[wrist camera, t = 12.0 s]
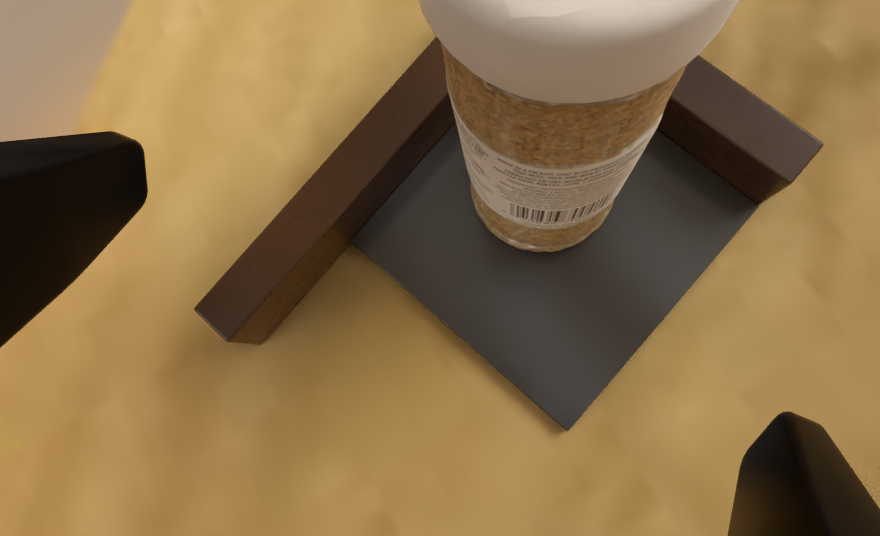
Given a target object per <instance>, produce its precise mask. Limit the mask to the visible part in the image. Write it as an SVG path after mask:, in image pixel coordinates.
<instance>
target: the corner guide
mask: <svg viewBox="0 0 880 536" xmlns="http://www.w3.org/2000/svg"><path fill="white" fill-rule="evenodd" d="M822 147H823V143H822V142H821V141H820V140H818V139H817V138H815V137H814V136H812V135H811V134H810V133H808V132H807V131H805V130H804V129H803V128H801V127H800V126H798V125H797V124H795V123H794V122H793V121H791V120H790V119H788V118H787V117H785V116H784V115H783V114H781V113H780V112H778V111H777V110H776V109H774V108H773V107H771V106H770V105H768V104H767V103H766V102H764V101H763V100H761V99H760V98H758V97H757V96H756V95H754V94H753V93H751V92H750V91H749V90H747V89H746V88H744V87H743V86H741V85H740V84H739V83H737V82H736V81H734V80H733V79H731V78H730V77H729V76H727V75H726V74H724V73H723V72H722V71H720V70H719V69H717V68H716V67H714V66H713V65H712V64H710V63H709V62H707V61H706V60H704V59H703V58H702V57H700V56H699V55H697V56H696V57H695V58H694V59H693V60H692V61H691V62H689V63H688V64H687V66H686V67H685V70H684V72H683V74H682V76H681V78H680V80H679V81H678V83H677V85H676V86H675V88H674V90H673V92H672V94H671V95H670V97H669V99H668V101H667V104H666V107H665V109H664V112H663V115H662V118H661V121H660V123H659V125H658V127H657V129H656V131H655V132H654V134H653V136H652V137H651V139H650V141H649V142H648V144H647V146H646V148H645V149H644V151H643V153H642V155H641V157H640V158H639V160H638V161H637V163H636V165H635V166H634V168H633V170H632V171H631V173H630V175H629V176H628V178H627V180H626V181H625V183H624V185H623V186H622V188H621V190H620V191H619V193H618V195H617V196H616V197H615V198H614V202H613V205H612V207H611V210H610V211H609V213H608V215H607V217H606V218H605V220H604V221H603V223H602V224H601V225H600V227H599V228H598V229H597V230H595V231H593V232H592V233H591V234H590V235H589V236H588V237H587V238H585V239H584V240H583V241H582V242H580V243H578V244H576V245H574V246H571V247H568V248H565V249H563V250H559V251H554V252H547V251H543V252H533V251H530V250H522V249H518V248H516V247H514V246H512V245H509V244H508V243H506V242H504V241H503V240H501V239H499V238H498V237H497V236H496V235H494V234H493V233H492V232H491V231H490V230H489V229H488V228H487V226H486V225H485V224H484V222H483V220H482V219H481V218H480V217H479V215H478V214H477V211H476V209H475V206H474V202H473V199H472V195H471V179H470V176H469V174H468V170H467V167H466V163H465V158H464V154H463V150H462V145H461V141H460V137H459V133H458V128H457V124H456V120H455V116H454V112H453V108H452V103H451V99H450V95H449V91H448V87H447V80H446V67H445V62H444V53H443V50H442V46H441V41H440V40H439V39H438V38H437V37H436V38H435V39H434V40H433V41H432V42H431V43H430V44H429V46H428V47H427V48H426V49H425V50H424V51H423V52H422V53H421V55H420V56H419V57H418V58H417V59H416V60H415V61H414V62H413V64H412V65H411V66H410V67H409V68H408V69H407V70H406V71H405V73H404V74H403V75H402V76H401V77H400V78H399V79H398V80H397V81H396V83H395V84H394V85H393V86H392V87H391V88H390V89H389V90H388V92H387V93H386V94H385V95H384V96H383V97H382V98H381V99H380V101H379V102H378V103H377V104H376V105H375V106H374V107H373V108H372V110H371V111H370V112H369V113H368V114H367V115H366V116H365V117H364V118H363V120H362V121H361V122H360V123H359V124H358V125H357V126H356V127H355V129H354V130H353V131H352V132H351V133H350V134H349V135H348V136H347V138H346V139H345V140H344V141H343V142H342V143H341V144H340V145H339V146H338V148H337V149H336V150H335V151H334V152H333V153H332V154H331V155H330V157H329V158H328V159H327V160H326V161H325V162H324V163H323V164H322V166H321V167H320V168H319V169H318V170H317V171H316V172H315V173H314V175H313V176H312V177H311V178H310V179H309V180H308V181H307V182H306V183H305V185H304V186H303V187H302V188H301V189H300V190H299V191H298V192H297V194H296V195H295V196H294V197H293V198H292V199H291V200H290V201H289V203H288V204H287V205H286V206H285V207H284V208H283V209H282V210H281V212H280V213H279V214H278V215H277V216H276V217H275V218H274V219H273V220H272V222H271V223H270V224H269V225H268V226H267V227H266V228H265V229H264V231H263V232H262V233H261V234H260V235H259V236H258V237H257V238H256V240H255V241H254V242H253V243H252V244H251V245H250V246H249V247H248V249H247V250H246V251H245V252H244V253H243V254H242V255H241V256H240V257H239V259H238V260H237V261H236V262H235V263H234V264H233V265H232V266H231V268H230V269H229V270H228V271H227V272H226V273H225V274H224V275H223V277H222V278H221V279H220V280H219V281H218V282H217V283H216V284H215V286H214V287H213V288H212V289H211V290H210V291H209V292H208V293H207V294H206V296H205V297H204V298H203V299H202V300H201V301H200V302H199V303H198V305H197V306H196V307H195V308H194V310H195V312H196V313H198V314H199V315H200V316H201V317H202V318H203V319H204V320H205V321H206V322H207V323H208V324H209V325H210V326H211V327H212V328H213V329H214V330H215V331H216V332H217V333H218V334H219V335H220V336H221V337H222V338H223V339H224V340H225V341H227V342H233V343H244V344H254V345H261V344H262V343H263V342H264V341H265V340H266V338H267V337H268V336H269V335H270V334H271V333H272V332H273V331H274V329H275V328H276V327H277V326H278V325H279V324H280V323H281V321H282V320H283V319H284V318H285V317H286V316H287V315H288V314H289V312H290V311H291V310H292V309H293V308H294V307H295V306H296V305H297V303H298V302H299V301H300V300H301V299H302V298H303V297H304V295H305V294H306V293H307V292H308V291H309V290H310V289H311V288H312V286H313V285H314V284H315V283H316V282H317V281H318V280H319V278H320V277H321V276H322V275H323V274H324V273H325V272H326V271H327V269H328V268H329V267H330V266H331V265H332V264H333V263H334V261H335V260H336V259H337V258H338V257H339V256H340V255H341V254H342V252H343V251H344V250H345V249H346V248H347V247H348V246H349V244H350V243H351V242H352V243H354V244H355V245H356V246H357V247H358V248H359V249H360V250H362V251H363V252H364V253H365V254H366V255H367V256H368V257H369V258H371V259H372V260H373V261H374V262H375V263H376V264H377V265H379V266H380V267H381V268H382V269H383V270H384V271H385V272H387V273H388V274H389V275H390V276H391V277H392V278H393V279H395V280H396V281H397V282H398V283H399V284H400V285H401V286H403V287H404V288H405V289H406V290H407V291H408V292H409V293H410V294H412V295H413V296H414V297H415V298H416V299H417V300H418V301H420V302H421V303H422V304H423V305H424V306H425V307H426V308H428V309H429V310H430V311H431V312H432V313H433V314H434V315H436V316H437V317H438V318H439V319H440V320H441V321H442V322H444V323H445V324H446V325H447V326H448V327H449V328H450V329H451V330H453V331H454V332H455V333H456V334H457V335H458V336H459V337H461V338H462V339H463V340H464V341H465V342H466V343H467V344H469V345H470V346H471V347H472V348H473V349H474V350H475V351H477V352H478V353H479V354H480V355H481V356H482V357H483V358H484V359H486V360H487V361H488V362H489V363H490V364H491V365H492V366H494V367H495V368H496V369H497V370H498V371H499V372H500V373H502V374H503V375H504V376H505V377H506V378H507V379H508V380H510V381H511V382H512V383H513V384H514V385H515V386H516V387H518V388H519V389H520V390H521V391H522V392H523V393H524V394H525V395H527V396H528V397H529V398H530V399H531V400H532V401H533V402H535V403H536V404H537V405H538V406H539V407H540V408H541V409H543V410H544V411H545V412H546V413H547V414H548V415H549V416H551V417H552V418H553V419H554V420H555V421H556V422H557V423H559V424H560V425H561V426H562V427H563V428H564V429H565V430H566V431H569V430H570V428H571V427H572V426H573V425H574V424H575V422H576V421H577V420H578V419H579V418H580V417H581V415H582V414H583V413H584V412H585V411H586V409H587V408H588V407H589V406H590V405H591V404H592V402H593V401H594V400H595V399H596V398H597V396H598V395H599V394H600V393H601V392H602V391H603V389H604V388H605V387H606V386H607V385H608V384H609V382H610V381H611V380H612V379H613V378H614V376H615V375H616V374H617V373H618V372H619V371H620V369H621V368H622V367H623V366H624V365H625V363H626V362H627V361H628V360H629V359H630V358H631V356H632V355H633V354H634V353H635V352H636V351H637V349H638V348H639V347H640V346H641V345H642V343H643V342H644V341H645V340H646V339H647V338H648V336H649V335H650V334H651V333H652V332H653V330H654V329H655V328H656V327H657V326H658V325H659V323H660V322H661V321H662V320H663V319H664V318H665V316H666V315H667V314H668V313H669V312H670V310H671V309H672V308H673V307H674V306H675V305H676V303H677V302H678V301H679V300H680V299H681V297H682V296H683V295H684V294H685V293H686V292H687V290H688V289H689V288H690V287H691V286H692V285H693V283H694V282H695V281H696V280H697V279H698V277H699V276H700V275H701V274H702V273H703V272H704V270H705V269H706V268H707V267H708V266H709V264H710V263H711V262H712V261H713V260H714V259H715V257H716V256H717V255H718V254H719V253H720V252H721V250H722V249H723V248H724V247H725V246H726V244H727V243H728V242H729V241H730V240H731V239H732V237H733V236H734V235H735V234H736V233H737V231H738V230H739V229H740V228H741V227H742V226H743V224H744V223H745V222H746V221H747V220H748V219H749V217H750V216H751V215H752V214H753V213H754V211H755V210H756V209H757V208H758V207H759V205H760V204H761V203H763V202H764V201H766V200H767V199H769V198H770V197H772V196H773V195H775V194H776V193H778V192H779V191H781V190H782V189H784V188H785V187H787V186H788V185H790V184H791V183H792V182H793V181H794V180H795V179H796V177H797V176H798V175H799V174H800V173H801V172H802V170H803V169H804V168H805V167H806V166H807V164H808V163H809V162H810V161H811V160H812V159H813V157H814V156H815V155H816V154H817V153H818V152H819V150H820V149H821V148H822Z"/></svg>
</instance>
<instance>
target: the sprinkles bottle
mask: <svg viewBox="0 0 880 536" xmlns="http://www.w3.org/2000/svg"><path fill="white" fill-rule="evenodd" d="M738 2H739V0H419V3H420V5H421V8H422V11H423V14H424V16H425V18H426V20H427V22H428V23H429V25H430V27H431V28H432V30H433V32H434V33H435V35H436V37H437V38H438V39H439V40H440V41H441V46H442V50H443V53H444V62H445V67H446V80H447V87H448V91H449V95H450V99H451V103H452V108H453V112H454V116H455V120H456V124H457V128H458V133H459V137H460V141H461V145H462V150H463V154H464V158H465V163H466V167H467V170H468V174H469V176H470V179H471V195H472V199H473V202H474V206H475V209H476V211H477V214H478V215H479V217H480V218H481V219H482V220H483V222H484V224H485V225H486V226H487V228H488V229H489V230H490V231H491V232H492V233H493V234H494V235H496V236H497V237H498V238H499V239H501V240H503V241H504V242H506V243H508V244H509V245H512V246H514V247H516V248H518V249H522V250H530V251H533V252H543V251H547V252H554V251H559V250H563V249H565V248H568V247H571V246H574V245H576V244H578V243H580V242H582V241H583V240H584V239H585V238H587V237H588V236H589V235H590V234H591V233H592V232H593V231H595V230H597V229H598V228H599V227H600V225H601V224H602V223H603V221H604V220H605V218H606V217H607V215H608V213H609V211H610V210H611V207H612V205H613V202H614V198H615V197H616V196H617V195H618V193H619V191H620V190H621V188H622V186H623V185H624V183H625V181H626V180H627V178H628V176H629V175H630V173H631V171H632V170H633V168H634V166H635V165H636V163H637V161H638V160H639V158H640V157H641V155H642V153H643V151H644V149H645V148H646V146H647V144H648V142H649V141H650V139H651V137H652V136H653V134H654V132H655V131H656V129H657V127H658V125H659V123H660V121H661V118H662V115H663V112H664V109H665V107H666V104H667V101H668V99H669V97H670V95H671V94H672V92H673V90H674V88H675V86H676V85H677V83H678V81H679V80H680V78H681V76H682V74H683V72H684V70H685V67H686V66H687V64H688V63H689V62H691V61H692V60H693V59H694V58H695V57H696V56H697V55H698V54H700V53H701V52H702V51H703V50H704V48H705V47H706V46H707V45H708V44H709V43H710V42H711V41H712V40H713V39H714V38H715V36H716V35H717V34H718V33H719V32H720V30H721V29H722V28H723V26H724V25H725V23H726V21H727V20H728V18H729V16H730V15H731V13H732V12H733V10H734V8H735V7H736V5H737V3H738Z"/></svg>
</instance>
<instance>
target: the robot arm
mask: <svg viewBox="0 0 880 536" xmlns="http://www.w3.org/2000/svg"><path fill="white" fill-rule="evenodd" d="M147 193H148V188H147V178H146V167H145V157H144V150H143V148H142V146H141V144H140V143H139V142H137V141H136V140H134V139H131V138H129V137H127V136H124V135H122V134H119V133H116V132H111V131H109V132H98V133H88V134H78V135H67V136H57V137H47V138H37V139H28V140H17V141H6V142H0V348H1V347H2V346H3V345H4V344H5V343H6V342H7V341H8V340H10V339H11V338H12V337H13V336H14V335H15V334H16V333H17V332H18V331H20V330H21V329H22V328H23V327H24V326H25V325H26V324H27V323H28V322H30V321H31V320H32V319H33V318H34V317H35V316H36V315H37V314H39V313H40V312H41V311H42V310H43V309H44V308H45V307H46V306H47V305H49V304H50V303H51V302H52V301H53V300H54V299H55V298H56V297H58V296H59V295H60V294H61V293H62V292H63V291H64V290H65V289H66V288H67V287H68V286H69V285H71V284H72V283H73V282H74V281H75V280H76V279H77V278H78V277H79V276H80V274H81V273H82V272H83V271H84V270H85V269H86V268H87V267H88V266H89V265H90V264H91V263H92V262H93V261H94V259H95V258H96V257H97V256H98V255H99V254H100V253H101V252H102V251H103V250H104V248H105V247H106V246H107V245H108V244H109V243H110V242H111V241H112V240H113V238H114V237H115V236H116V235H117V234H118V233H119V232H120V231H121V230H122V229H123V227H124V226H125V225H126V224H127V223H128V222H129V221H130V220H131V219H132V218H133V216H134V215H135V214H136V213H137V212H138V211H139V210H140V209H141V207H142V206H143V204H144V203H145V200H146V198H147ZM728 536H880V509H879V507H878V506H877V504H876V503H875V501H874V500H873V498H872V497H871V496H870V494H869V493H868V491H867V490H866V488H865V487H864V485H863V484H862V483H861V481H860V480H859V478H858V477H857V475H856V474H855V472H854V471H853V469H852V468H851V467H850V465H849V464H848V462H847V461H846V459H845V458H844V456H843V455H842V454H841V452H840V451H839V449H838V448H837V446H836V445H835V443H834V442H833V441H832V439H831V438H830V436H829V435H828V433H827V432H826V430H825V429H824V428H823V427H822V426H821V425H820V424H818V423H816V422H814V421H812V420H809V419H807V418H804V417H802V416H800V415H797V414H795V413H792V412H782V413H780V414H779V415H778V416H776V417H775V418H774V420H773V421H772V422H771V423H770V424H769V425H768V427H767V428H766V429H765V430H764V431H763V432H762V434H761V435H760V436H759V437H758V438H757V439H756V441H755V442H754V443H753V444H752V445H751V446H750V447H749V449H748V450H747V452H746V453H745V455H744V457H743V460H742V462H741V466H740V470H739V476H738V481H737V487H736V492H735V498H734V503H733V509H732V514H731V520H730V525H729V531H728Z"/></svg>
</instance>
